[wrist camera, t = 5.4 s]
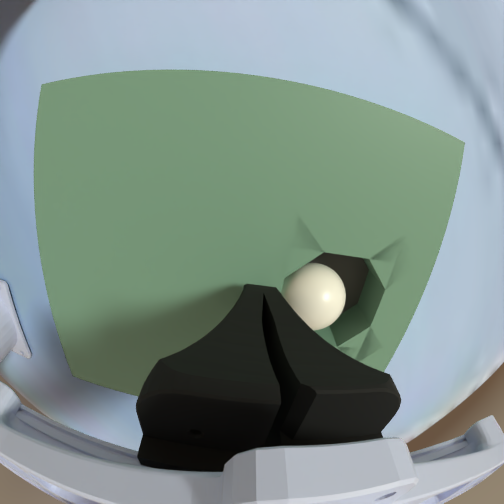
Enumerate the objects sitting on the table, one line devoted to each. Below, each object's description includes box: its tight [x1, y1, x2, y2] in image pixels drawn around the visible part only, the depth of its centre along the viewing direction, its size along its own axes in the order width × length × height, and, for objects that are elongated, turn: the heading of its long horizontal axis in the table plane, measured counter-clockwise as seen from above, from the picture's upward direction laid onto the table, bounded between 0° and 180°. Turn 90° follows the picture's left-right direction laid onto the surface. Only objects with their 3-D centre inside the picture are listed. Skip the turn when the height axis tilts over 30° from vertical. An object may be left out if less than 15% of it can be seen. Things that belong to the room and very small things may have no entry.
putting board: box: [34, 70, 465, 396], centre depth 13 cm, size 20×18×2 cm
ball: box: [281, 263, 346, 331], centre depth 13 cm, size 3×3×3 cm
